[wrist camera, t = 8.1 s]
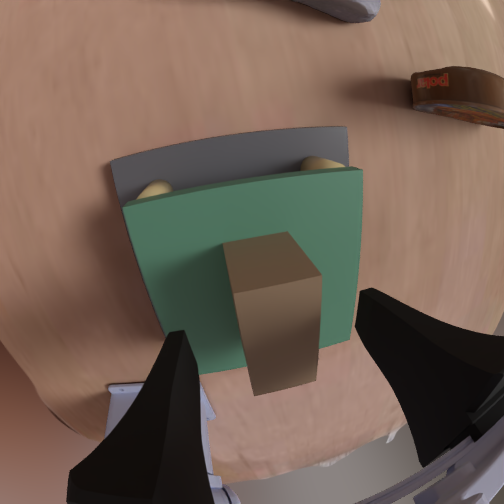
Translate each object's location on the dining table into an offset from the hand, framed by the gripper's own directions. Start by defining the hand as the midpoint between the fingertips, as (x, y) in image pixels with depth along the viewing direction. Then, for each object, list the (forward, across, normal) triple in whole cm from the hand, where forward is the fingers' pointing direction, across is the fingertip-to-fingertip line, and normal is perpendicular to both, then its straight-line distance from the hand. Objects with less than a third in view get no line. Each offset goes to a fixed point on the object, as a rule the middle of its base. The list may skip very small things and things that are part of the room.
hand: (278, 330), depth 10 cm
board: (+4, 0, 0) cm, 4 cm away
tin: (+9, -19, -10) cm, 23 cm away
